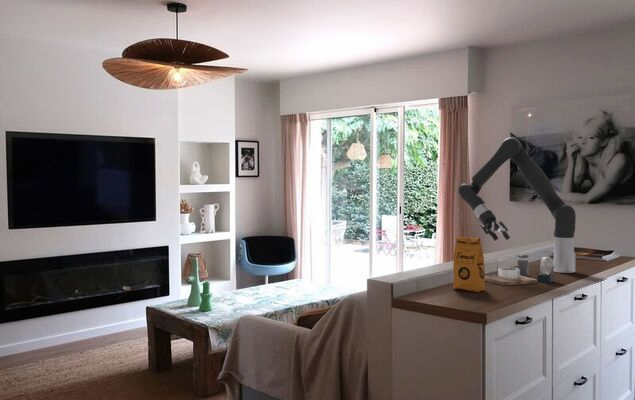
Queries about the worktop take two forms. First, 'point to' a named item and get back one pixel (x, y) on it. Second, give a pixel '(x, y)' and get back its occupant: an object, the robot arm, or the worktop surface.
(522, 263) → the grey cylinder
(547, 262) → the watch
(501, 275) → the notched white ring
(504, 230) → the robot arm
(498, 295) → the worktop surface
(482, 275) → the coffee package
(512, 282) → the mount board
